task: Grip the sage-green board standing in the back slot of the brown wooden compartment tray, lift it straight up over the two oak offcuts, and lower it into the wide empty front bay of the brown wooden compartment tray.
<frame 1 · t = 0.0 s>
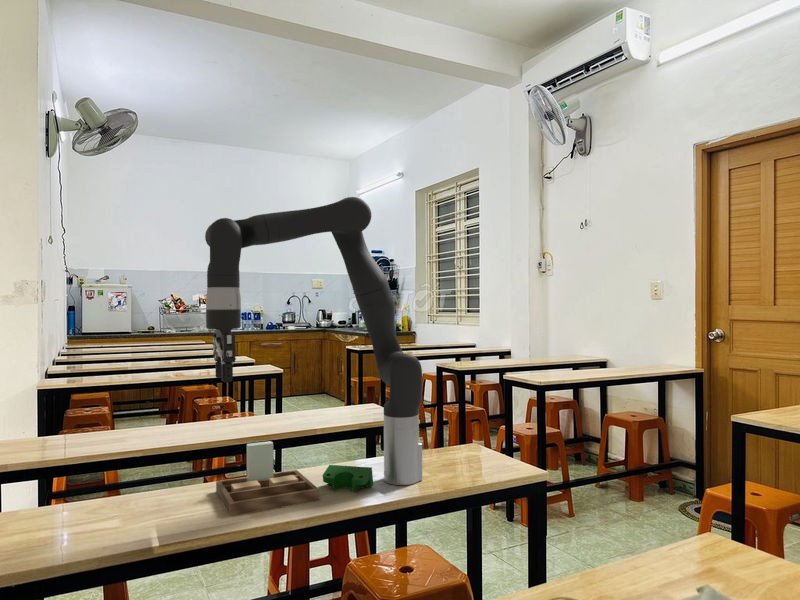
hand: (223, 379, 126), 29 cm above the table, tool pointing down, fingers open, 8 cm apart
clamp: (347, 493, 137), on the table
brown wooden compartment tray: (266, 500, 132), on the table
offcut 1: (245, 497, 131), point 1 cm above the table, touching brown wooden compartment tray
sheet: (260, 488, 137), point 1 cm above the table, touching brown wooden compartment tray
offcut 2: (283, 491, 135), point 1 cm above the table, touching brown wooden compartment tray
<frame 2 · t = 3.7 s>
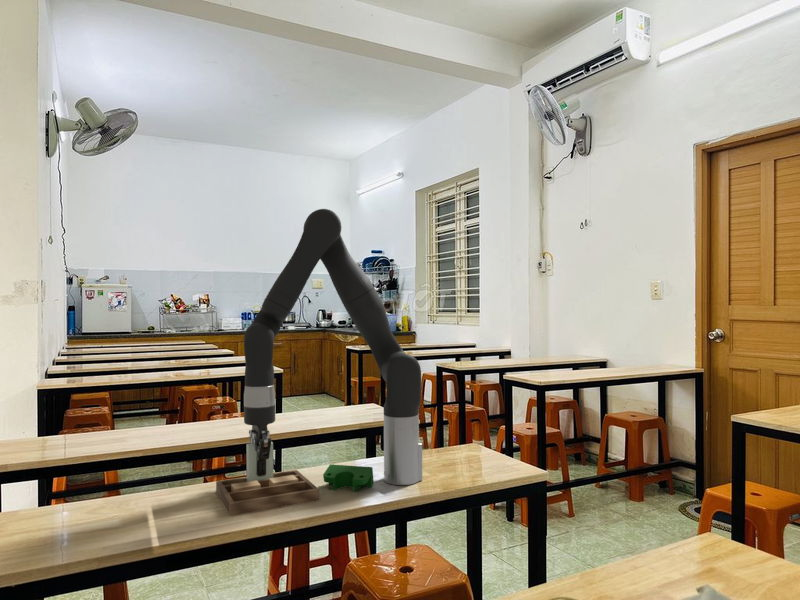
hand: (259, 473, 137), 5 cm above the table, tool pointing down, fingers closed on sheet, 2 cm apart
sheet: (260, 488, 137), point 1 cm above the table, touching gripper
everything else where it was.
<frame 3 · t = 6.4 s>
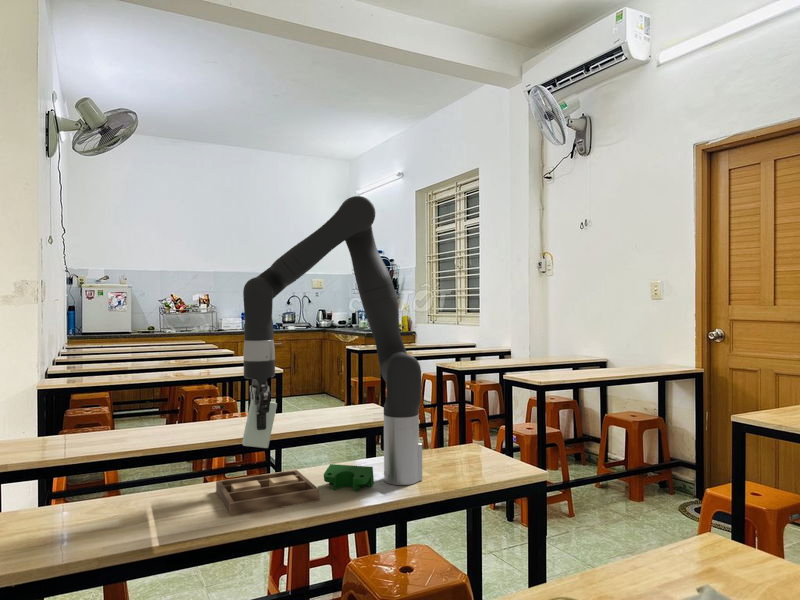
hand: (260, 428, 137), 16 cm above the table, tool pointing down, fingers closed on sheet
sheet: (254, 445, 137), point 12 cm above the table, tilted 12°, touching gripper
everything else where it was.
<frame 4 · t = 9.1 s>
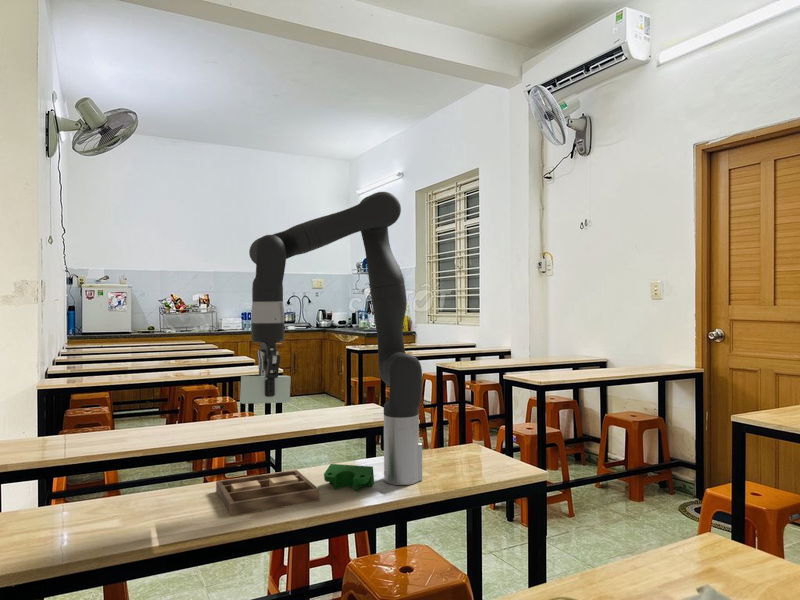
hand: (268, 395, 130), 25 cm above the table, tool pointing down, fingers closed on sheet
sheet: (241, 389, 127), point 27 cm above the table, tilted 93°, touching gripper
everything else where it was.
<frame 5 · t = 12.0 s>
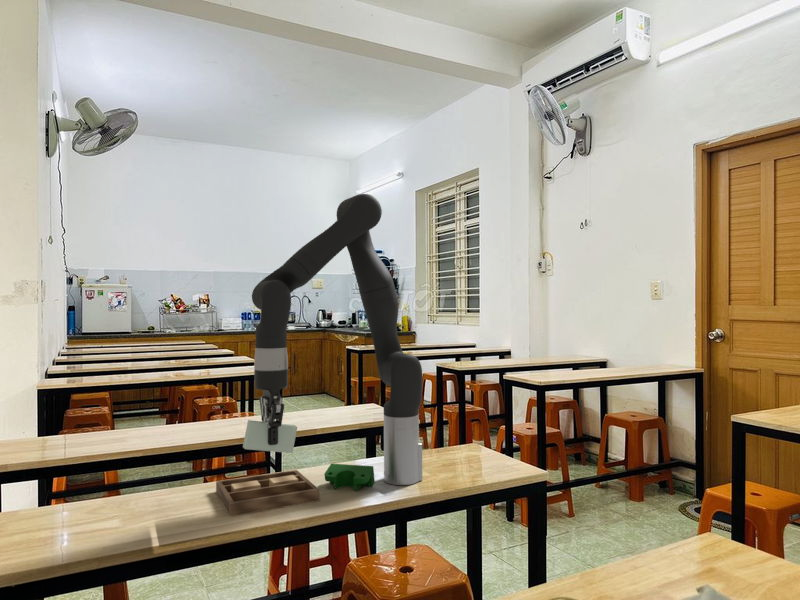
hand: (271, 443, 127), 14 cm above the table, tool pointing down, fingers closed on sheet
sheet: (246, 434, 125), point 17 cm above the table, tilted 102°, touching gripper
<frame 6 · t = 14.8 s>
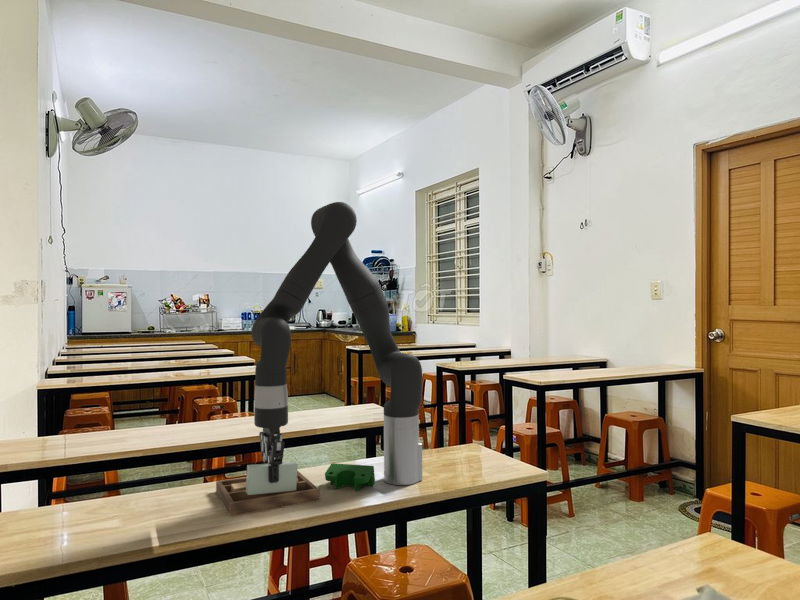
hand: (271, 479, 127), 6 cm above the table, tool pointing down, fingers open, 3 cm apart
sheet: (247, 479, 125), point 7 cm above the table, tilted 94°
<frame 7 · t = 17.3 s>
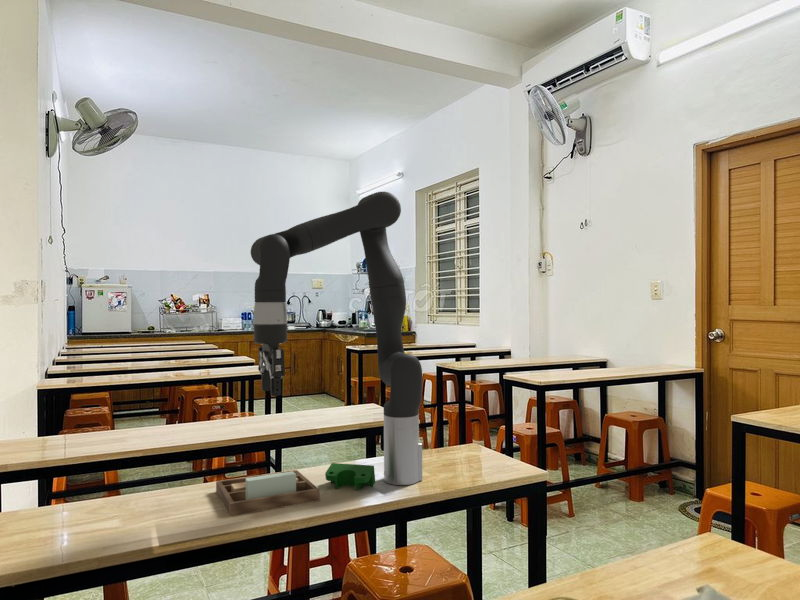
hand: (271, 393, 128), 26 cm above the table, tool pointing down, fingers open, 8 cm apart
sheet: (246, 493, 124), point 4 cm above the table, tilted 90°, touching brown wooden compartment tray
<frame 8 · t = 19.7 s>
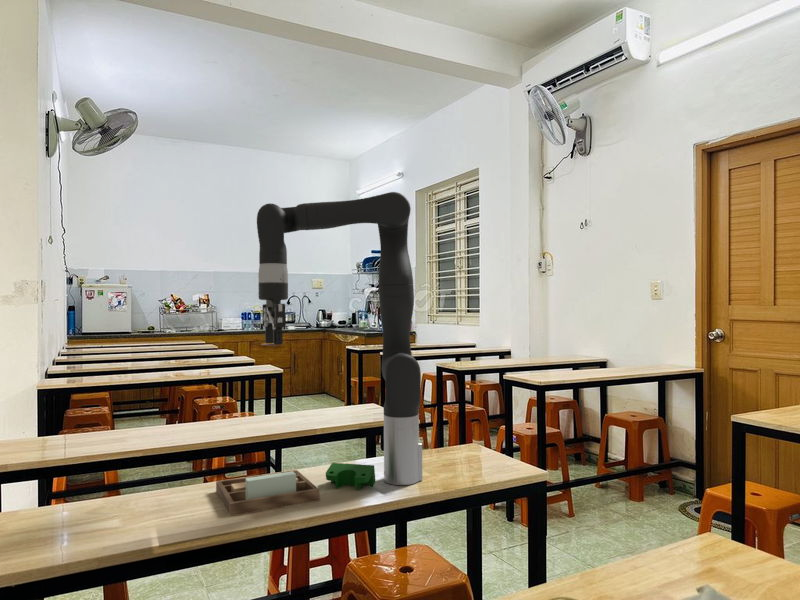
hand: (273, 343, 145), 36 cm above the table, tool pointing down, fingers open, 8 cm apart
at the end: sheet inside the target area (5.7 cm from its centre), point 4.0 cm above the table; the gripper is holding nothing; offcut 2 moved 0.0 cm from its start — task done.
